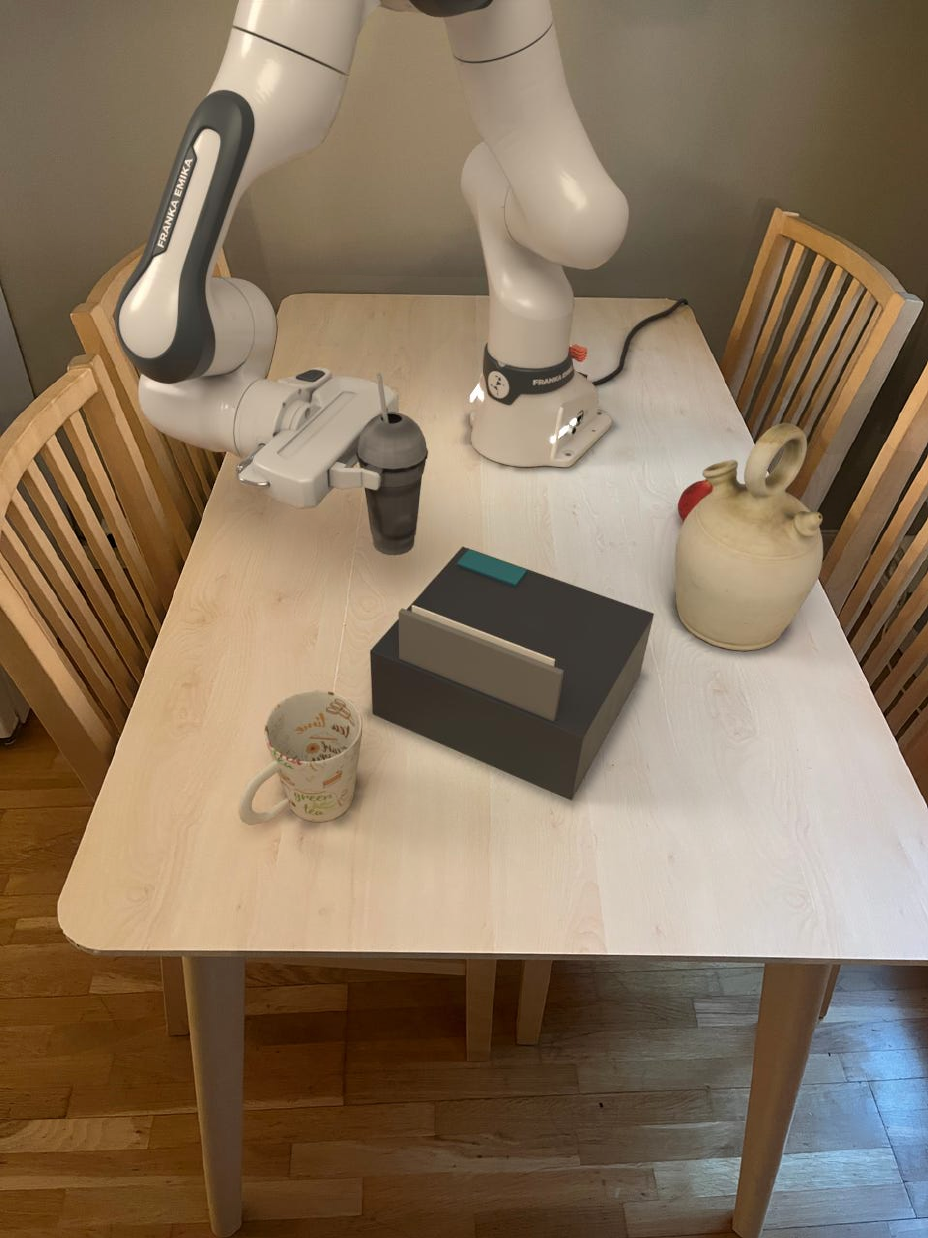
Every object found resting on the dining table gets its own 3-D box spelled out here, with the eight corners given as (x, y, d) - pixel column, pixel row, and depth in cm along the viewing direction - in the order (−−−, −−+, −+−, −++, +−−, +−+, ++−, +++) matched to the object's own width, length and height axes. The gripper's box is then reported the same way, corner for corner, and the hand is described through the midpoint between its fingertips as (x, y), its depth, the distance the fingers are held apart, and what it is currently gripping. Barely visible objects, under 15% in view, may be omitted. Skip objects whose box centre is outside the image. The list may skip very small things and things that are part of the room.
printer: (461, 606, 107) (466, 493, 97) (640, 673, 100) (667, 560, 90) (372, 714, 94) (367, 598, 84) (571, 800, 87) (593, 685, 77)
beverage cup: (418, 568, 98) (419, 398, 85) (352, 557, 99) (342, 388, 86) (433, 528, 104) (436, 363, 90) (370, 518, 104) (364, 353, 91)
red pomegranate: (669, 536, 119) (682, 484, 113) (676, 512, 123) (688, 460, 118) (715, 547, 118) (729, 494, 112) (720, 522, 122) (735, 470, 116)
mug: (384, 794, 87) (382, 723, 80) (280, 880, 80) (267, 810, 73) (324, 747, 91) (317, 675, 84) (220, 825, 83) (203, 753, 77)
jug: (638, 589, 111) (678, 401, 94) (747, 564, 115) (805, 380, 98) (706, 676, 100) (765, 481, 83) (824, 645, 105) (902, 454, 88)
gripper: (221, 449, 88) (350, 484, 84) (326, 359, 102) (440, 386, 99) (230, 503, 92) (353, 539, 89) (329, 410, 106) (439, 438, 103)
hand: (400, 458), depth 94 cm, fingers closed on beverage cup, 7 cm apart
